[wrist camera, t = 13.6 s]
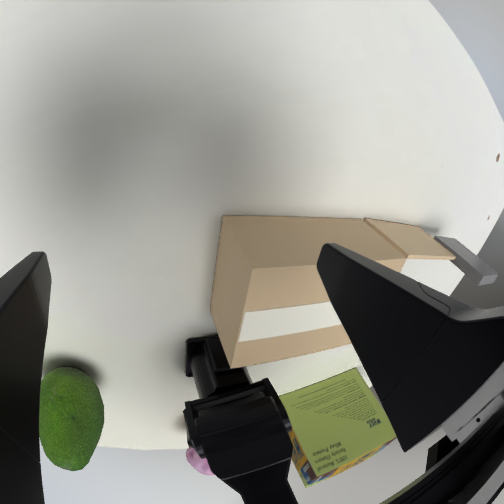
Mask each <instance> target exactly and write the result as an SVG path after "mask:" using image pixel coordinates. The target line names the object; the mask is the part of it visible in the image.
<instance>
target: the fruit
mask: <svg viewBox="0 0 504 504" xmlns="http://www.w3.org/2000/svg"><path fill="white" fill-rule="evenodd" d="M103 425H104V405H103V401H102V398H101V395H100V392H99V389H98V387H97V385H96V384H95V382H94V381H93V379H92V378H90V377H89V376H88V375H87V374H85V373H84V372H82V371H80V370H78V369H76V368H71V367H58V368H56V369H54V370H51V371H50V372H49V373H48V374H47V375H46V376H45V377H44V378H43V380H42V381H41V390H40V411H39V437H40V440H41V443H42V446H43V449H44V452H45V454H46V456H47V457H48V458H49V459H50V461H51V462H52V463H53V464H54V465H56V466H58V467H60V468H63V469H66V470H70V471H77V470H81V469H83V468H84V467H85V466H86V465H87V464H88V463H89V460H90V458H91V456H92V454H93V452H94V450H95V448H96V446H97V444H98V441H99V439H100V436H101V432H102V429H103Z"/></svg>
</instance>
